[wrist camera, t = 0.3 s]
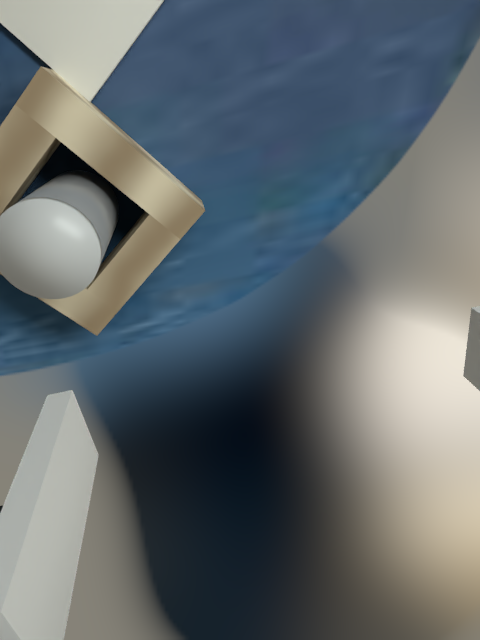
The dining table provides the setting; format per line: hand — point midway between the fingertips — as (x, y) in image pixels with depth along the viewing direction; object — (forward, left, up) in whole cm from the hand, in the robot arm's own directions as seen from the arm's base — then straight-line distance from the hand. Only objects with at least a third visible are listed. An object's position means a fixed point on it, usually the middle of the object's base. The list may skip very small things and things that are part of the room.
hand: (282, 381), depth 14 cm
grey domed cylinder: (-8, -7, -26) cm, 28 cm away
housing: (-8, -7, -26) cm, 28 cm away
